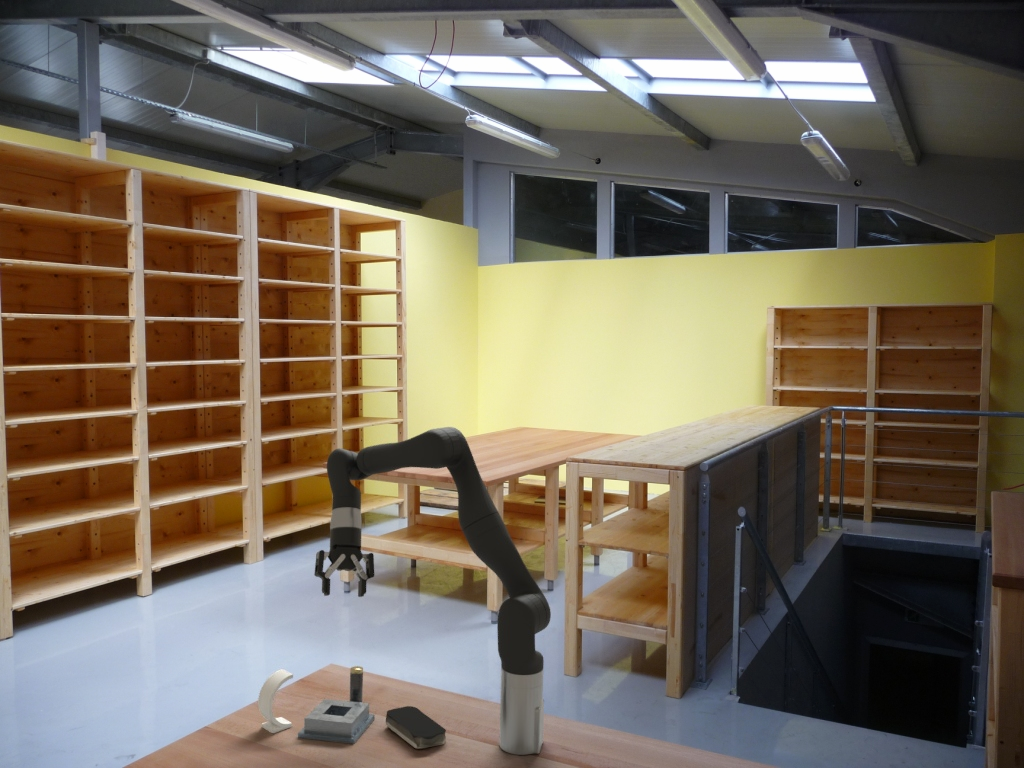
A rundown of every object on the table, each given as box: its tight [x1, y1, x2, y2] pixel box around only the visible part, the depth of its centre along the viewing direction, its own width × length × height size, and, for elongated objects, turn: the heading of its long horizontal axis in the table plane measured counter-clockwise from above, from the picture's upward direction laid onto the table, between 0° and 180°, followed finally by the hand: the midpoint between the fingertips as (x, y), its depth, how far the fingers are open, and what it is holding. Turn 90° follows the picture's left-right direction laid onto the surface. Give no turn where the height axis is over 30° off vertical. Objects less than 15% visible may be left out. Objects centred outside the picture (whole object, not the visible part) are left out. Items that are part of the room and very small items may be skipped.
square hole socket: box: [297, 698, 376, 745], centre depth 186 cm, size 13×13×4 cm
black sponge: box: [385, 705, 447, 750], centre depth 184 cm, size 16×8×4 cm, turn 36°
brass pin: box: [349, 665, 364, 703], centre depth 198 cm, size 3×3×10 cm
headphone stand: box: [257, 668, 294, 734], centre depth 186 cm, size 5×6×12 cm
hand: (344, 595), depth 196 cm, fingers open, 8 cm apart
